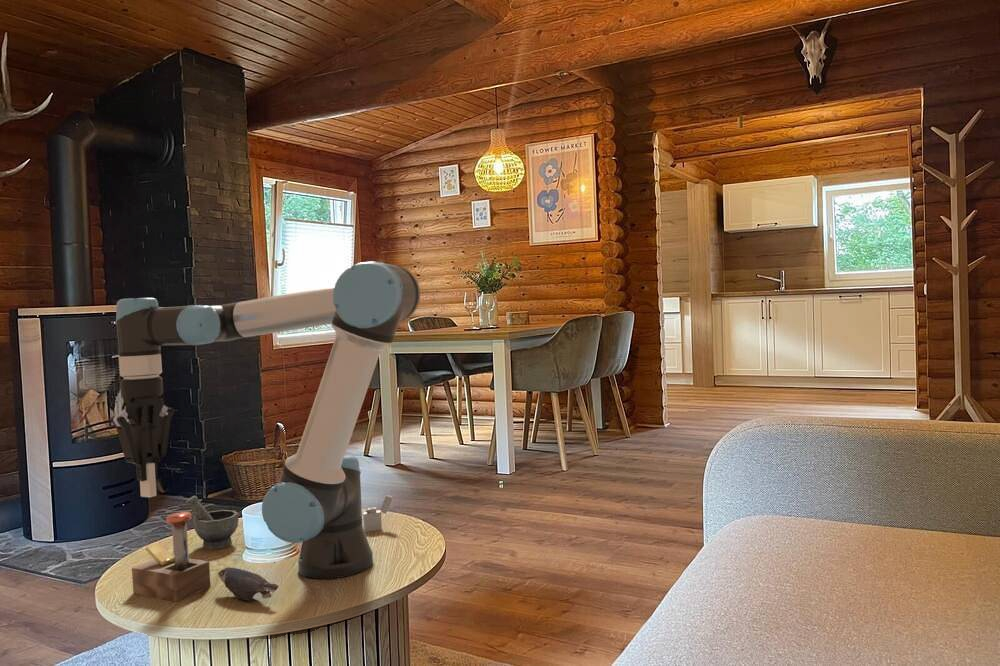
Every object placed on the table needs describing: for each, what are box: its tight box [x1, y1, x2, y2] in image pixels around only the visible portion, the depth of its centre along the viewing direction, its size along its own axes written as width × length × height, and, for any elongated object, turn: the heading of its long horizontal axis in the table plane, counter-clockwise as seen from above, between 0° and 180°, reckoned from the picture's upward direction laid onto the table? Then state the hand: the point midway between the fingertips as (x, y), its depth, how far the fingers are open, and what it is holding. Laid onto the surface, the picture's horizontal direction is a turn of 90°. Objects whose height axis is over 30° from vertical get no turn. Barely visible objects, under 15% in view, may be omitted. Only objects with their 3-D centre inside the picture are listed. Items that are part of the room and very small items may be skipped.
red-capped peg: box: [165, 511, 192, 571], centre depth 147 cm, size 4×4×15 cm
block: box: [131, 555, 211, 602], centre depth 149 cm, size 12×8×5 cm, turn 64°
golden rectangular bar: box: [145, 541, 174, 567], centre depth 150 cm, size 5×3×1 cm
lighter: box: [362, 494, 394, 533], centre depth 184 cm, size 7×2×8 cm, turn 107°
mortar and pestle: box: [185, 495, 239, 550], centre depth 177 cm, size 11×9×12 cm
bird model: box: [217, 566, 279, 602], centre depth 143 cm, size 4×17×5 cm, turn 56°
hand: (148, 495), depth 150 cm, fingers closed
